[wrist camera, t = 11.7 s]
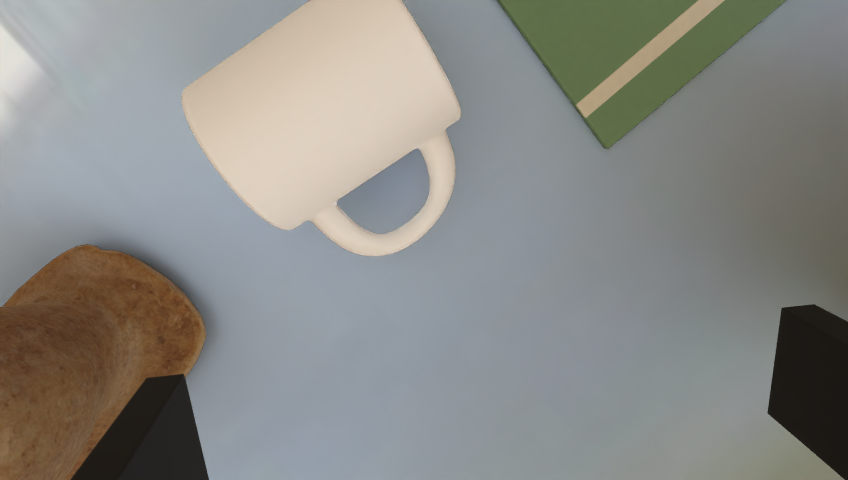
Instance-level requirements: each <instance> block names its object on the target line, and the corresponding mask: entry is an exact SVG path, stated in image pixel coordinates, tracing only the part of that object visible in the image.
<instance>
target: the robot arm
mask: <svg viewBox="0 0 848 480" xmlns="http://www.w3.org/2000/svg"><path fill="white" fill-rule="evenodd" d="M768 414H769V415H770V416H771V417H773V418H774V419H775V420H776V421H777V422H778V423H780V424H781V425H782V426H783V427H784V428H785V429H787V430H788V431H789V432H790V433H791V434H792V435H794V436H795V437H796V438H797V439H798V440H799V441H801V442H802V443H803V444H804V445H805V446H806V447H808V448H809V449H810V450H811V451H812V452H813V453H815V454H816V455H817V456H818V457H819V458H820V459H822V460H823V461H824V462H825V463H826V464H827V465H829V466H830V467H831V468H832V469H833V470H834V471H836V472H837V473H838V474H839V475H840V476H841V477H843V478H844V479H845V480H848V322H847V321H845V320H843V319H841V318H839V317H838V316H836V315H834V314H832V313H830V312H828V311H826V310H824V309H822V308H820V307H818V306H816V305H814V304H813V305H803V306H794V307H785V308H782V310H781V317H780V325H779V332H778V340H777V347H776V355H775V362H774V369H773V377H772V384H771V392H770V399H769V406H768ZM70 480H209V478H208V474H207V470H206V465H205V461H204V457H203V453H202V448H201V444H200V440H199V436H198V431H197V427H196V423H195V419H194V414H193V410H192V406H191V401H190V397H189V393H188V389H187V384H186V380H185V376H184V374H178V375H169V376H159V377H150V378H146V379H145V380H144V382H143V383H142V384H141V386H140V387H139V388H138V390H137V391H136V392H135V394H134V395H133V397H132V398H131V399H130V401H129V402H128V403H127V405H126V406H125V407H124V409H123V410H122V411H121V413H120V414H119V415H118V417H117V418H116V419H115V421H114V422H113V423H112V425H111V426H110V427H109V429H108V430H107V431H106V433H105V434H104V435H103V437H102V438H101V439H100V441H99V442H98V443H97V445H96V446H95V447H94V449H93V450H92V451H91V453H90V454H89V455H88V457H87V458H86V459H85V461H84V462H83V463H82V465H81V466H80V467H79V469H78V470H77V471H76V473H75V474H74V475H73V477H72V478H71V479H70Z"/></svg>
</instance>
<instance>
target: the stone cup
mask: <svg viewBox="0 0 848 480" xmlns="http://www.w3.org/2000/svg"><path fill="white" fill-rule="evenodd" d="M205 339H206V329H205V324H204V321H203V318H202V316H201V315H200V313H199V311H198V310H197V308H196V307H195V306H194V304H193V303H192V302H191V301H190V300H189V298H188V297H187V296H186V295H185V294H184V293H183V292H182V291H181V290H180V288H178V287H177V286H176V285H175V284H174V283H173V282H171V281H170V280H169V279H168V278H166V277H165V276H164V275H162V274H161V273H159V272H158V271H156V270H154V269H153V268H151V267H149V266H148V265H146V264H145V263H143V262H142V261H140V260H138V259H136V258H134V257H133V256H131V255H128V254H125V253H122V252H119V251H111V250H101V249H100V248H98V247H97V246H92V245H88V244H87V245H81V246H76V247H74V248H72V249H70V250H68V251H66V252H64V253H62V254H61V255H59V256H58V257H56V258H55V259H53V260H52V261H51V262H50V263H48V264H47V265H46V266H45V267H44V268H42V269H41V270H40V271H39V272H38V273H36V274H35V275H34V276H33V277H32V278H30V279H29V280H28V281H27V282H26V283H25V284H24V285H23V286H21V287H20V288H19V289H18V290H17V291H16V292H15V293H14V294H13V296H12V297H11V298H10V299H9V300H8V301H7V302H6V304H5V305H4V306H3V307H0V480H70V479H71V478H72V477H73V475H74V474H75V473H76V471H77V470H78V469H79V467H80V466H81V465H82V463H83V462H84V461H85V459H86V458H87V457H88V455H89V454H90V453H91V451H92V450H93V449H94V447H95V446H96V445H97V443H98V442H99V441H100V439H101V438H102V437H103V435H104V434H105V433H106V431H107V430H108V429H109V427H110V426H111V425H112V423H113V422H114V421H115V419H116V418H117V417H118V415H119V414H120V413H121V411H122V410H123V409H124V407H125V406H126V405H127V403H128V402H129V401H130V399H131V398H132V397H133V395H134V394H135V392H136V391H137V390H138V388H139V387H140V386H141V384H142V383H143V382H144V380H145V379H146V378H150V377H159V376H169V375H178V374H184V376H185V378H186V376H187V375H188V374H189V372H190V371H191V369H192V368H193V366H194V365H195V363H196V362H197V359H198V357H199V355H200V352H201V350H202V348H203V345H204V342H205Z"/></svg>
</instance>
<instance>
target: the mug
mask: <svg viewBox="0 0 848 480" xmlns="http://www.w3.org/2000/svg"><path fill="white" fill-rule="evenodd" d="M182 106H183V110H184V114H185V116H186V119H187V122H188V124H189V126H190V128H191V130H192V132H193V134H194V136H195V138H196V140H197V141H198V143H199V145H200V146H201V148H202V150H203V151H204V153H205V154H206V156H207V157H208V159H209V160H210V162H211V163H212V165H213V166H214V167H215V169H216V170H217V171H218V173H219V174H220V175H221V176H222V178H223V179H224V180H225V181H226V183H227V184H228V185H229V186H230V187H231V188H232V190H233V191H234V192H235V193H236V194H237V195H238V196H239V197H240V198H241V199H242V200H243V201H244V202H245V203H246V204H247V205H248V206H249V207H250V208H251V209H252V210H253V211H254V212H255V213H257V214H258V215H259V216H260V217H261V218H263V219H264V220H265V221H267V222H268V223H270V224H272V225H273V226H275V227H277V228H280V229H283V230H292V229H295V228H296V227H298V226H299V225H301V224H302V223H304V222H305V221H307V220H310V221H312V222H313V223H314V224H315V225H316V226H317V227H318V229H319V230H321V231H322V232H323V233H324V234H325V235H326V236H327V237H328V238H329V239H330V240H332V241H333V242H334V243H336V244H337V245H339V246H340V247H342V248H344V249H346V250H348V251H350V252H353V253H356V254H359V255H365V256H383V255H388V254H392V253H395V252H398V251H400V250H402V249H404V248H406V247H408V246H410V245H411V244H413V243H414V242H416V241H417V240H418V239H420V238H421V237H422V236H423V235H424V234H425V233H426V232H427V231H428V230H429V229H430V228H431V227H432V226H433V225H434V224H435V222H436V221H437V220H438V218H439V217H440V216H441V214H442V213H443V211H444V209H445V207H446V206H447V204H448V201H449V199H450V197H451V194H452V191H453V187H454V182H455V172H456V169H455V159H454V154H453V150H452V147H451V144H450V141H449V138H448V136H447V134H446V128H447V127H449V126H450V125H452V124H453V123H455V122H456V121H458V120H459V119H460V117H461V108H460V105H459V102H458V100H457V97H456V95H455V93H454V90H453V88H452V86H451V84H450V82H449V80H448V78H447V76H446V74H445V72H444V70H443V68H442V67H441V65H440V63H439V61H438V59H437V58H436V56H435V54H434V52H433V50H432V49H431V47H430V45H429V44H428V42H427V40H426V38H425V37H424V35H423V33H422V32H421V30H420V28H419V27H418V25H417V24H416V22H415V20H414V19H413V17H412V16H411V14H410V13H409V11H408V9H407V8H406V6H405V5H404V3H403V2H402V0H310V1H308V2H307V3H305V4H304V5H302V6H301V7H300V8H298V9H297V10H295V11H294V12H292V13H291V14H290V15H288V16H287V17H285V18H284V19H282V20H281V21H280V22H278V23H277V24H275V25H274V26H272V27H271V28H270V29H268V30H267V31H265V32H264V33H262V34H261V35H260V36H258V37H257V38H255V39H254V40H253V41H251V42H250V43H248V44H247V45H245V46H244V47H243V48H241V49H240V50H238V51H237V52H235V53H234V54H233V55H231V56H230V57H228V58H227V59H225V60H224V61H223V62H221V63H220V64H218V65H217V66H215V67H214V68H213V69H211V70H210V71H208V72H207V73H205V74H204V75H203V76H201V77H200V78H198V79H197V80H195V81H194V82H193V83H191V84H190V85H188V86H187V87H186V88H185V89H184V91H183V93H182ZM415 148H417V149H419V150H420V151H421V152H422V155H423V157H424V159H425V162H426V165H427V169H428V172H429V178H430V192H429V196H428V199H427V201H426V203H425V205H424V206H423V208H422V209H421V210H420V211H419V212H418V213H417V214H416V215H415V216H414V217H413V218H412V219H411V220H410V221H408V222H407V223H406V224H404V225H403V226H401V227H400V228H398V229H396V230H394V231H392V232H389V233H385V234H376V233H372V232H369V231H367V230H365V229H364V228H362V227H360V226H359V225H358V224H356V223H355V222H354V221H353V220H352V219H350V218H349V217H348V216H347V215H346V214H345V213H344V212H343V210H342V209H341V208H340V207H339V206H338V205H337V200H338V199H340V198H341V197H343V196H344V195H346V194H347V193H349V192H350V191H352V190H354V189H355V188H357V187H358V186H360V185H361V184H363V183H364V182H366V181H367V180H369V179H370V178H372V177H373V176H375V175H376V174H378V173H379V172H381V171H382V170H384V169H385V168H387V167H388V166H390V165H391V164H393V163H394V162H396V161H397V160H399V159H400V158H402V157H403V156H405V155H406V154H408V153H409V152H411V151H412V150H414V149H415Z"/></svg>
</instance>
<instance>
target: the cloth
mask: <svg viewBox="0 0 848 480" xmlns="http://www.w3.org/2000/svg"><path fill="white" fill-rule="evenodd" d="M497 1H498V2H499V4H500V5H501V6H502V8H503V9H504V10H505V12H506V13H507V15H508V16H509V17H510V19H511V20H512V21H513V23H514V24H515V26H516V27H517V28H518V30H519V31H520V32H521V34H522V35H523V37H524V38H525V39H526V41H527V42H528V43H529V45H530V46H531V48H532V49H533V50H534V52H535V53H536V54H537V56H538V57H539V59H540V60H541V61H542V63H543V64H544V65H545V67H546V68H547V70H548V71H549V72H550V74H551V75H552V76H553V78H554V79H555V81H556V82H557V83H558V85H559V86H560V87H561V89H562V90H563V92H564V93H565V94H566V96H567V97H568V98H569V100H570V101H571V103H572V104H573V105H574V107H575V108H576V109H577V111H578V112H579V114H580V115H581V116H582V118H583V119H584V121H585V122H586V123H587V125H588V126H589V127H590V129H591V130H592V132H593V133H594V134H595V136H596V137H597V138H598V140H599V141H600V143H601V144H602V145H603V147H604V148H607V149H608V148H610V147H611V146H612V145H613V144H614V143H616V142H617V141H618V140H619V139H620V138H622V137H623V136H624V135H625V134H626V133H628V132H629V131H630V130H631V129H632V128H634V127H635V126H636V125H637V124H638V123H640V122H641V121H642V120H643V119H644V118H646V117H647V116H648V115H649V114H650V113H652V112H653V111H654V110H655V109H656V108H658V107H659V106H660V105H661V104H662V103H664V102H665V101H666V100H667V99H668V98H670V97H671V96H672V95H673V94H674V93H676V92H677V91H678V90H679V89H680V88H682V87H683V86H684V85H685V84H686V83H688V82H689V81H690V80H691V79H692V78H693V77H695V76H696V75H697V74H698V73H699V72H701V71H702V70H703V69H704V68H705V67H707V66H708V65H709V64H710V63H711V62H713V61H714V60H715V59H716V58H717V57H719V56H720V55H721V54H722V53H723V52H725V51H726V50H727V49H728V48H729V47H731V46H732V45H733V44H734V43H735V42H737V41H738V40H739V39H740V38H741V37H743V36H744V35H745V34H746V33H747V32H749V31H750V30H751V29H752V28H753V27H755V26H756V25H757V24H758V23H759V22H761V21H762V20H763V19H764V18H765V17H767V16H768V15H769V14H770V13H771V12H773V11H774V10H775V9H776V8H777V7H779V6H780V5H781V4H782V3H783V2H785V1H786V0H497Z"/></svg>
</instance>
